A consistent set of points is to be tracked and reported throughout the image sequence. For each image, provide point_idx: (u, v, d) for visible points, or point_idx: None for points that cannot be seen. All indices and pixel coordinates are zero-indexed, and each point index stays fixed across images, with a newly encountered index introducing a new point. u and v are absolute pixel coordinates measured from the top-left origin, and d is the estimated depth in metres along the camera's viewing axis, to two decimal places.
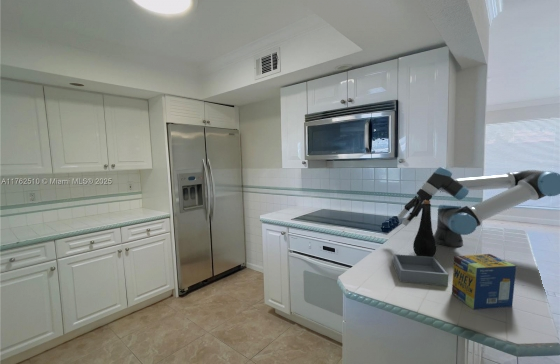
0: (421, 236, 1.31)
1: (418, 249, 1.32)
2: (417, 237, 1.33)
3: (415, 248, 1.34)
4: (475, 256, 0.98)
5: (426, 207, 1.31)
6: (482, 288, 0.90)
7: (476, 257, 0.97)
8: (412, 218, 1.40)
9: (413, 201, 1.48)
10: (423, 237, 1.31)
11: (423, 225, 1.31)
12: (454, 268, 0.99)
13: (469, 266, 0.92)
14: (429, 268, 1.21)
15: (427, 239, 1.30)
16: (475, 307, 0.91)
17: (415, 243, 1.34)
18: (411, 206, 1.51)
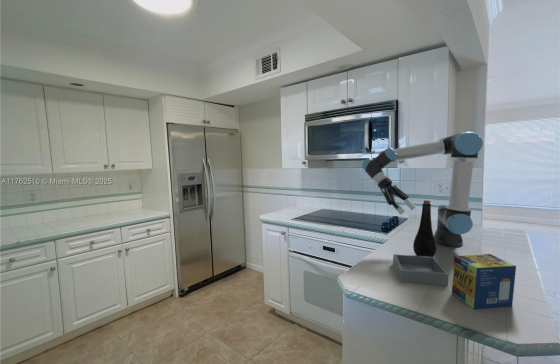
0: (421, 236, 1.31)
1: (418, 249, 1.32)
2: (417, 237, 1.33)
3: (415, 248, 1.34)
4: (475, 256, 0.98)
5: (426, 207, 1.31)
6: (482, 288, 0.90)
7: (476, 257, 0.97)
8: (396, 203, 1.36)
9: None
10: (423, 237, 1.31)
11: (423, 225, 1.31)
12: (454, 268, 0.99)
13: (469, 266, 0.92)
14: (429, 268, 1.21)
15: (427, 239, 1.30)
16: (475, 307, 0.91)
17: (415, 243, 1.34)
18: (400, 195, 1.46)
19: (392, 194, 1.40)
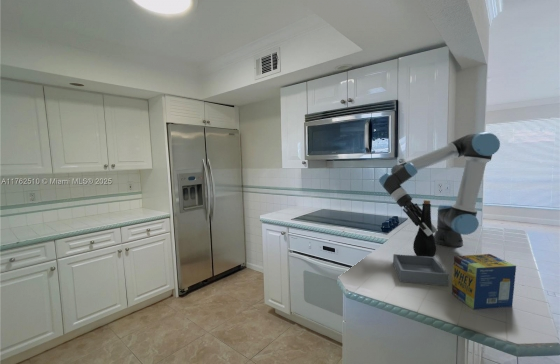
0: (421, 236, 1.31)
1: (418, 249, 1.32)
2: (417, 237, 1.33)
3: (415, 248, 1.34)
4: (475, 256, 0.98)
5: (426, 207, 1.31)
6: (482, 288, 0.90)
7: (476, 257, 0.97)
8: (424, 224, 1.30)
9: None
10: (423, 237, 1.31)
11: None
12: (454, 268, 0.99)
13: (469, 266, 0.92)
14: (429, 268, 1.21)
15: (427, 239, 1.30)
16: (475, 307, 0.91)
17: (415, 243, 1.34)
18: (420, 214, 1.37)
19: (415, 213, 1.34)
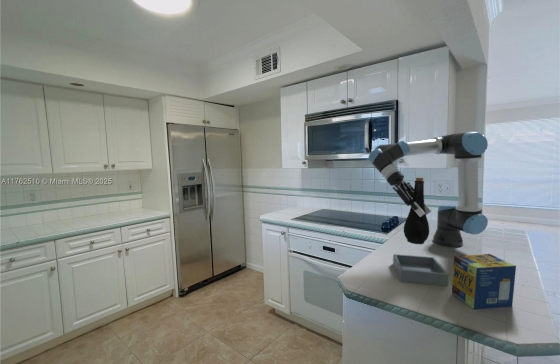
0: (413, 217, 1.17)
1: (408, 231, 1.18)
2: (408, 218, 1.19)
3: (405, 231, 1.20)
4: (475, 256, 0.98)
5: (418, 185, 1.16)
6: (482, 288, 0.90)
7: (476, 257, 0.97)
8: (416, 204, 1.16)
9: None
10: (414, 218, 1.17)
11: None
12: (454, 268, 0.99)
13: (469, 266, 0.92)
14: (429, 268, 1.21)
15: (418, 220, 1.16)
16: (475, 307, 0.91)
17: (405, 225, 1.20)
18: (412, 194, 1.23)
19: (407, 191, 1.19)
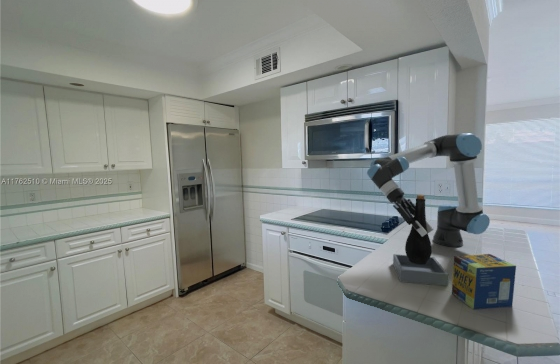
0: (414, 236, 1.13)
1: (410, 251, 1.14)
2: (409, 237, 1.15)
3: (407, 250, 1.15)
4: (475, 256, 0.98)
5: (419, 203, 1.12)
6: (482, 288, 0.90)
7: (476, 257, 0.97)
8: (417, 223, 1.11)
9: None
10: (416, 237, 1.12)
11: None
12: (454, 268, 0.99)
13: (469, 266, 0.92)
14: (429, 268, 1.21)
15: (420, 240, 1.11)
16: (475, 307, 0.91)
17: (407, 244, 1.15)
18: (413, 211, 1.18)
19: (408, 209, 1.15)
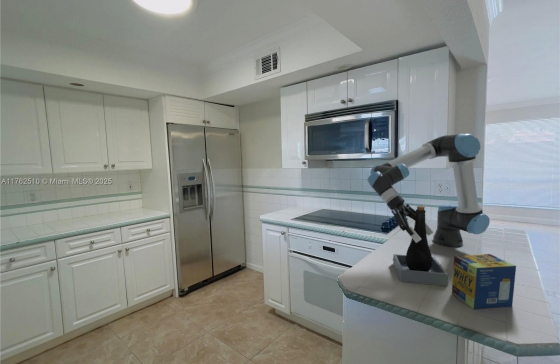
0: (415, 247, 1.14)
1: (410, 262, 1.14)
2: (410, 248, 1.16)
3: (408, 261, 1.16)
4: (475, 256, 0.98)
5: (419, 214, 1.13)
6: (482, 288, 0.90)
7: (476, 257, 0.97)
8: (411, 229, 1.10)
9: None
10: (416, 248, 1.13)
11: None
12: (454, 268, 0.99)
13: (469, 266, 0.92)
14: None
15: (421, 251, 1.12)
16: (475, 307, 0.91)
17: (408, 255, 1.16)
18: (414, 216, 1.21)
19: (405, 216, 1.15)
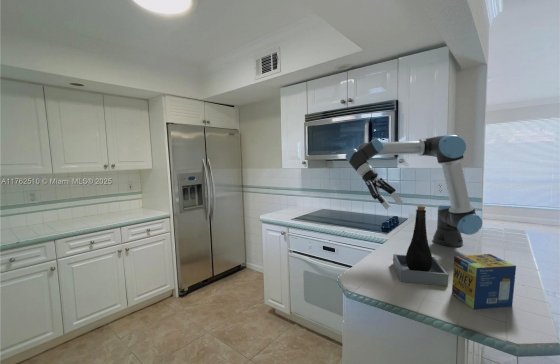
0: (415, 247, 1.14)
1: (410, 262, 1.14)
2: (410, 248, 1.16)
3: (408, 261, 1.16)
4: (475, 256, 0.98)
5: (420, 214, 1.13)
6: (482, 288, 0.90)
7: (476, 257, 0.97)
8: (382, 197, 1.24)
9: None
10: (416, 248, 1.13)
11: (417, 234, 1.14)
12: (454, 268, 0.99)
13: (469, 266, 0.92)
14: None
15: (421, 251, 1.12)
16: (475, 307, 0.91)
17: (408, 255, 1.16)
18: (386, 188, 1.34)
19: (377, 187, 1.28)
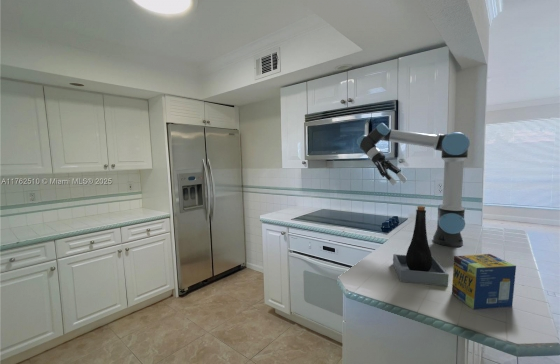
0: (415, 247, 1.14)
1: (410, 262, 1.14)
2: (410, 248, 1.16)
3: (408, 261, 1.16)
4: (475, 256, 0.98)
5: (420, 214, 1.13)
6: (482, 288, 0.90)
7: (476, 257, 0.97)
8: (389, 175, 1.43)
9: None
10: (416, 248, 1.13)
11: (417, 234, 1.14)
12: (454, 268, 0.99)
13: (469, 266, 0.92)
14: None
15: (421, 251, 1.12)
16: (475, 307, 0.91)
17: (408, 255, 1.16)
18: (392, 168, 1.54)
19: (385, 167, 1.48)
